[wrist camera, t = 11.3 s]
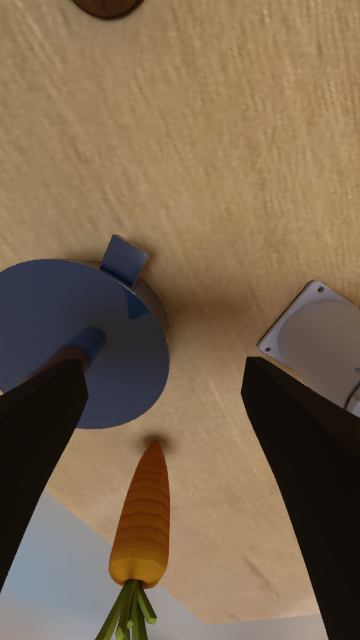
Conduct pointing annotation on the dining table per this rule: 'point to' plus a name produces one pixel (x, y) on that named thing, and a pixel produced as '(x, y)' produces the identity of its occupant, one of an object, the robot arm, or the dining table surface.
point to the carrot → (140, 547)
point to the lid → (83, 336)
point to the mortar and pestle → (106, 6)
